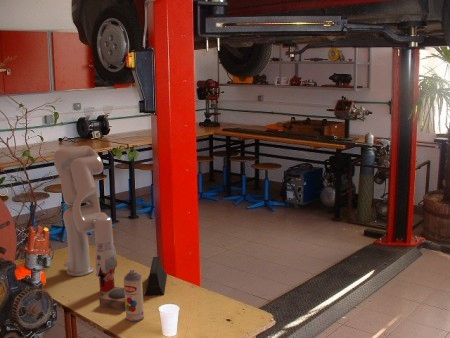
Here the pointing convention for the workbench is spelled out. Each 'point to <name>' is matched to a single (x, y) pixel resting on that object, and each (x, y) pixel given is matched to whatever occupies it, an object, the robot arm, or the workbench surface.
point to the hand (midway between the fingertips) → (107, 284)
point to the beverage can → (107, 281)
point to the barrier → (156, 279)
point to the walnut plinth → (114, 299)
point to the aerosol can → (133, 296)
